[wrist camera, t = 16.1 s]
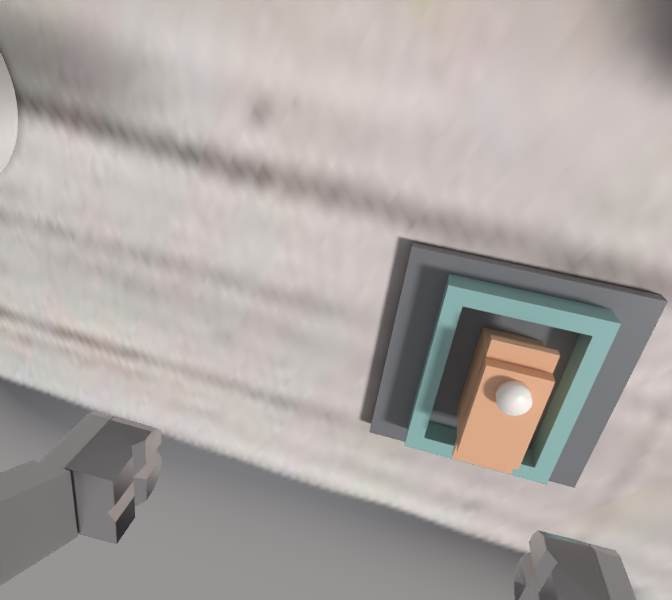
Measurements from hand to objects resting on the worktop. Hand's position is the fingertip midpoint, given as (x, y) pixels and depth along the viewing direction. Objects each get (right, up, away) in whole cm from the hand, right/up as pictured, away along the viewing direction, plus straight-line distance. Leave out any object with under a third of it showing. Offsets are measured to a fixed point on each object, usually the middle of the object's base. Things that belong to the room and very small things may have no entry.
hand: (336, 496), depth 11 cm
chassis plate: (+12, -1, +25) cm, 28 cm away
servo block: (+11, -1, +24) cm, 27 cm away
